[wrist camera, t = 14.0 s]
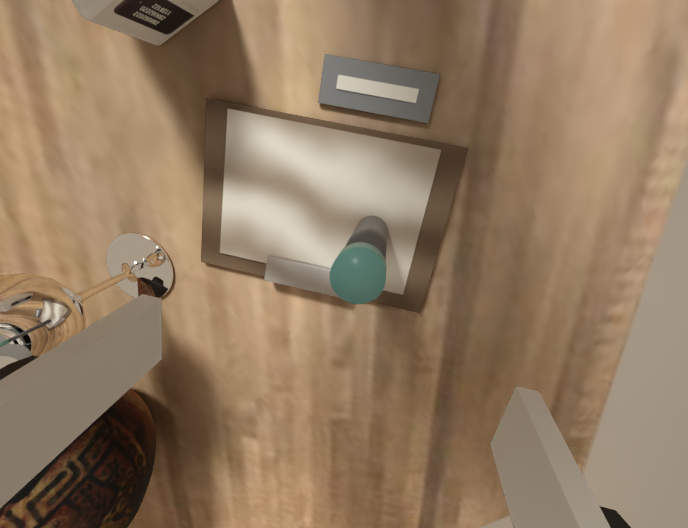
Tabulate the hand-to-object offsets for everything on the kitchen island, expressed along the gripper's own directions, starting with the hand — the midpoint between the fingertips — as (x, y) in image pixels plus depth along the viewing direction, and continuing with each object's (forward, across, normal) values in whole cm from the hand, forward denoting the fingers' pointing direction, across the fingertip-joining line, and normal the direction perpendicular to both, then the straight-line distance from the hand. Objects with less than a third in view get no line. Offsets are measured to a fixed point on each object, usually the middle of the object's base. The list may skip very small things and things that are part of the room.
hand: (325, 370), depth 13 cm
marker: (+20, 0, 0) cm, 20 cm away
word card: (+21, -2, +11) cm, 24 cm away
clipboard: (+21, -5, +1) cm, 21 cm away
